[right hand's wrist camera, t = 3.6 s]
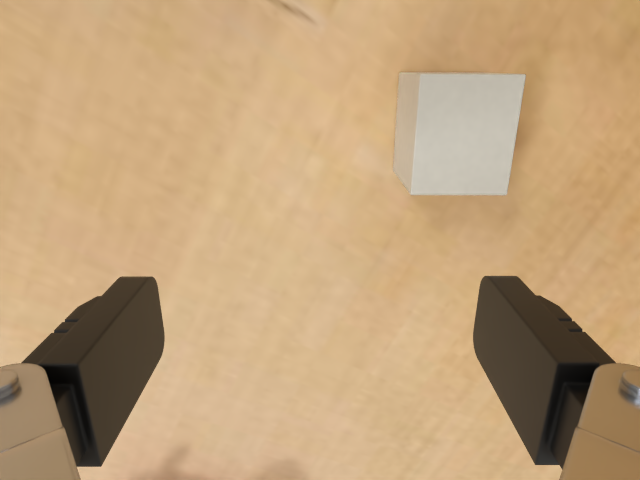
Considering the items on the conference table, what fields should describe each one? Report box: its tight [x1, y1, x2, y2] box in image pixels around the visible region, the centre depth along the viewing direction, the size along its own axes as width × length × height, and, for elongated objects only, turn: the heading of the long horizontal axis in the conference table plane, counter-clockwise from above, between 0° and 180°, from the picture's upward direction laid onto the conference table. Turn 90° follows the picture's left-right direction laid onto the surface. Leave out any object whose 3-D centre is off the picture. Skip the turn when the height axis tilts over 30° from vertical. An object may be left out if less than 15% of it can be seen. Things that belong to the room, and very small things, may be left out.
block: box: [393, 72, 526, 195], centre depth 21 cm, size 5×4×5 cm
